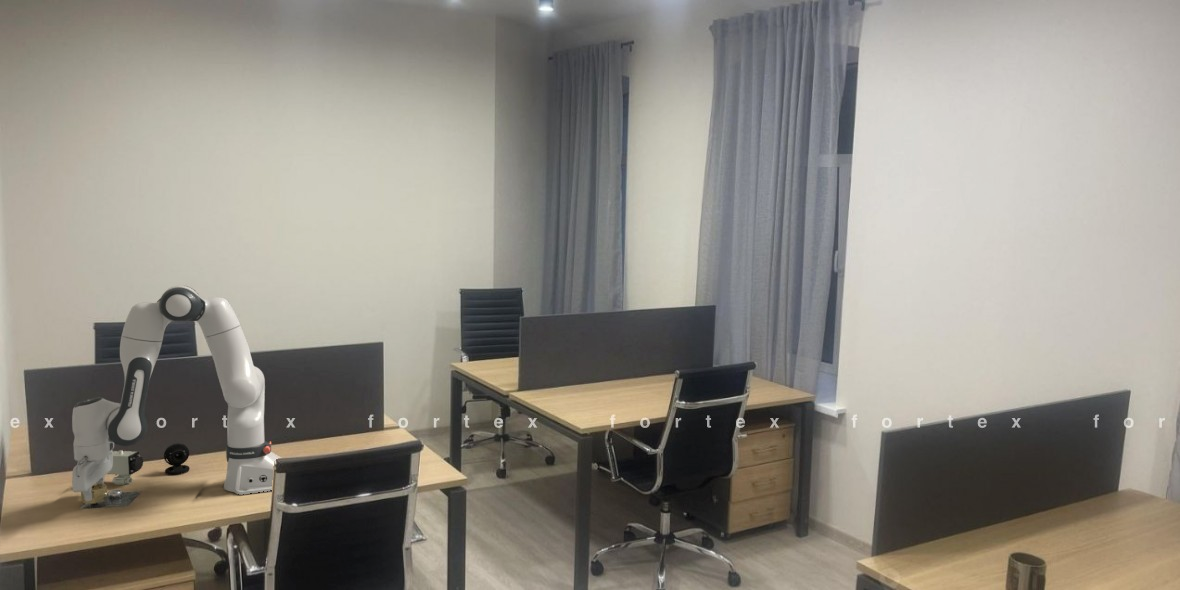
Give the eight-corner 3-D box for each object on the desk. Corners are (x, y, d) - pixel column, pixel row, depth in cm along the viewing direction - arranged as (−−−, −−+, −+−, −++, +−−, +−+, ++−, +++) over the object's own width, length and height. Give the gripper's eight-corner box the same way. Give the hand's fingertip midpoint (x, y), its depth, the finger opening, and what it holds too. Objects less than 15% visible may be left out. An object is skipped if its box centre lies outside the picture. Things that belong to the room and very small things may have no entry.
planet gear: (109, 495, 232) (108, 482, 232) (101, 502, 226) (100, 490, 226) (87, 496, 231) (86, 484, 230) (79, 504, 225) (78, 491, 225)
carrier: (142, 494, 239) (141, 478, 238) (127, 509, 227) (127, 492, 227) (96, 497, 236) (95, 480, 235) (79, 512, 224) (78, 494, 224)
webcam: (166, 477, 255) (165, 448, 253) (162, 470, 260) (161, 442, 259) (192, 472, 259) (191, 444, 258) (187, 466, 265) (186, 439, 264)
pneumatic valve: (135, 489, 243) (134, 453, 242) (100, 488, 244) (98, 452, 242) (146, 482, 249) (144, 447, 248) (111, 481, 249) (109, 446, 248)
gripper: (88, 462, 218) (91, 508, 219) (116, 440, 237) (118, 482, 239) (64, 463, 216) (67, 509, 218) (93, 441, 236) (96, 484, 238)
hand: (94, 495), depth 229 cm, fingers closed on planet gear, 6 cm apart
